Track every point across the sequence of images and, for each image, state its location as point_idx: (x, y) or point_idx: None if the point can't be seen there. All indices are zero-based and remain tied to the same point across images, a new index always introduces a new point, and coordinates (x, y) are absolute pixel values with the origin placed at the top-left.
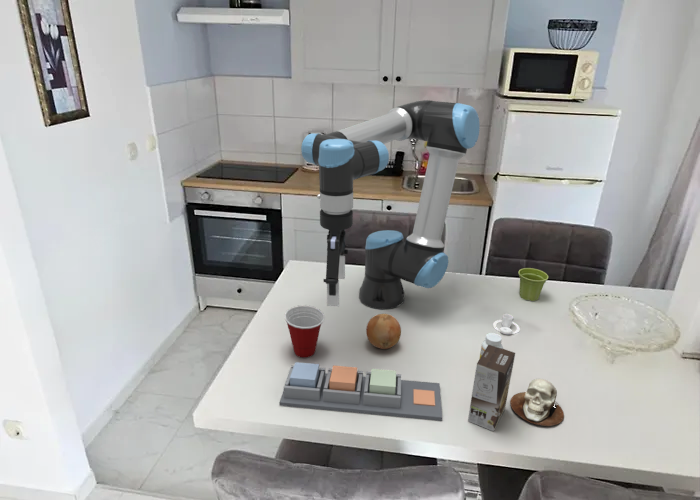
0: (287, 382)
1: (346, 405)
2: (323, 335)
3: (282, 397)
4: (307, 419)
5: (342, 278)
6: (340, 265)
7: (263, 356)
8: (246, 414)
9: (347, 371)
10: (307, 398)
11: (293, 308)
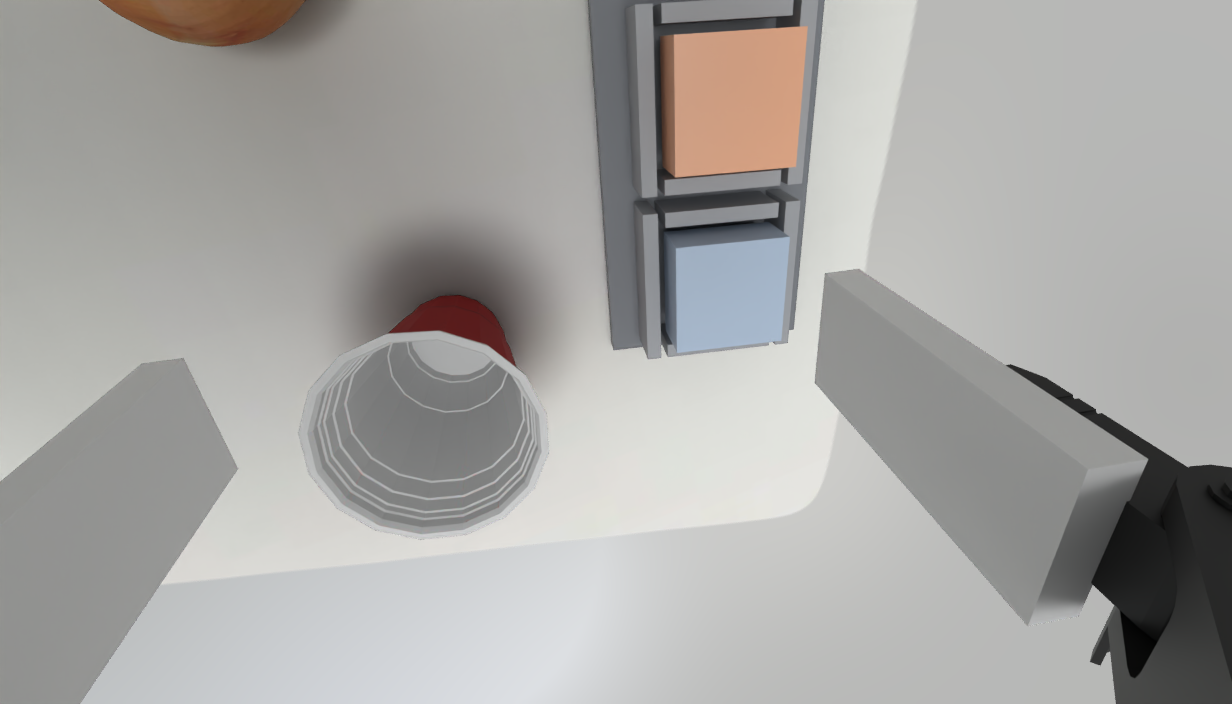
0: None
1: None
2: (294, 294)
3: None
4: (851, 208)
5: (190, 387)
6: (76, 552)
7: None
8: (829, 401)
9: (715, 88)
10: None
11: (376, 517)
